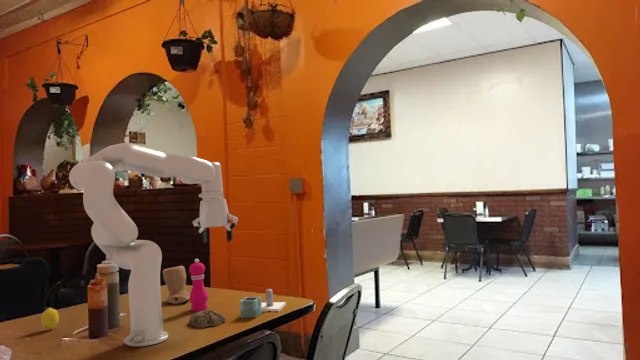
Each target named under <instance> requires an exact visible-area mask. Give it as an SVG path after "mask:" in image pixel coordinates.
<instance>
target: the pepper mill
mask: <svg viewBox="0 0 640 360" xmlns="http://www.w3.org/2000/svg"><path fill="white" fill-rule="evenodd" d="M188 270H189V273H190V274H191V276H190V277H191V278H190V279H191V281H192V287H191V290H190V292H191V293H190V297H189V299H188V301H189V302H190V304H191V306H190V309H191V311H192V312H200V311H203V310H208V303H207V302H208V300H209V294H208V292H207V290H206V288H205V287H206V286H205V285H204V279H205V274H204V273H205V272H206V271H205V270H206V266H205V264H203V263H202V262H200V260H199V259H198V258H195V259H194V262H193V263H192V264H190V265H189V268H188Z"/></svg>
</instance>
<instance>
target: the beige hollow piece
mask: <svg viewBox="0 0 640 360" xmlns="http://www.w3.org/2000/svg"><path fill="white" fill-rule="evenodd" d="M162 277H163V281H164V282H165V285H166V288H167V290H168V292H169V293H168V294H169V296H168V297H167V298H166V300H165V302H167V303H169V304H173V305H179V304H182V303H184V302H186V301H189V297H190V293H191V291H190V292H189V291H187V290H186V284H187V273H186V268H185V266H183V265H179V266H175V267H170V268H165V269H163V270H162Z"/></svg>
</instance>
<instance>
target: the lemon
mask: <svg viewBox="0 0 640 360" xmlns="http://www.w3.org/2000/svg"><path fill="white" fill-rule="evenodd" d="M40 319H41V321H40V322H41V325H42V326H43V328H45V329H47V330H49V329H50V328H53V329H54V328H55V327H56V326H57V325H58V324H59V320H60V316H59V312H58V311H57V310H56V309H55V308H52V307H48V308H47V309H45V310H44V311H43V312H42V314H41V317H40Z"/></svg>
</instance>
